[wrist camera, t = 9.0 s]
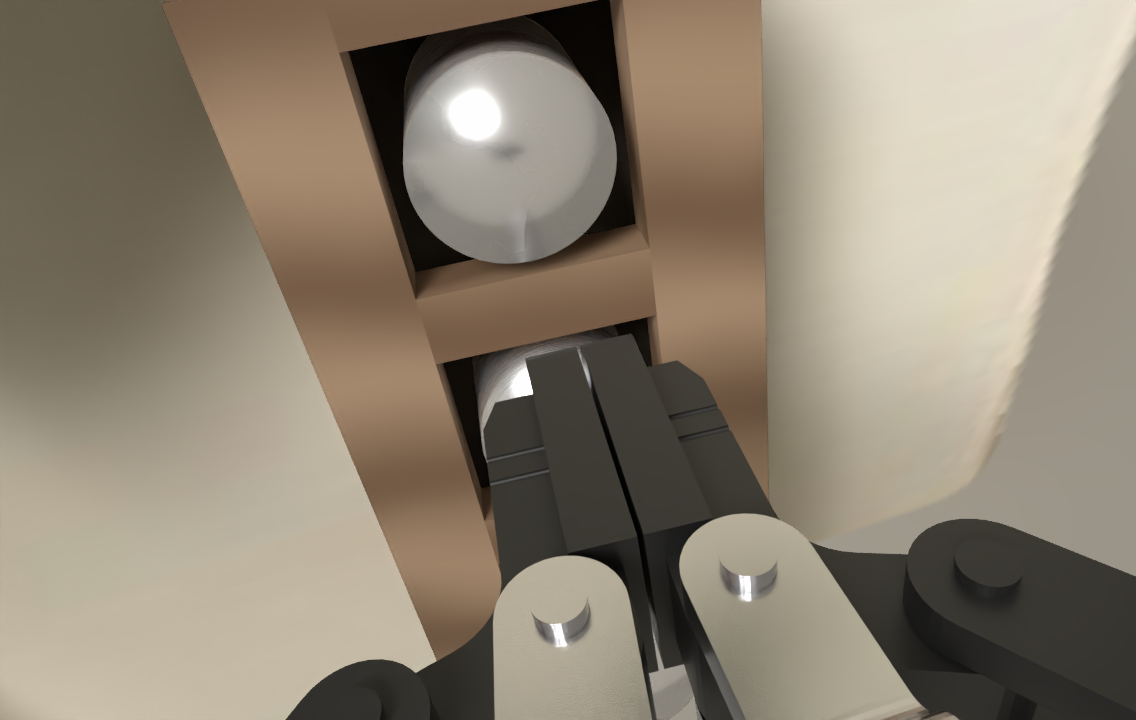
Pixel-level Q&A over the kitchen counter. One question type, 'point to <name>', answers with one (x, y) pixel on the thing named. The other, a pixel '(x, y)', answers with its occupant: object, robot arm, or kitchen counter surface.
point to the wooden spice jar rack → (479, 288)
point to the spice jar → (520, 369)
